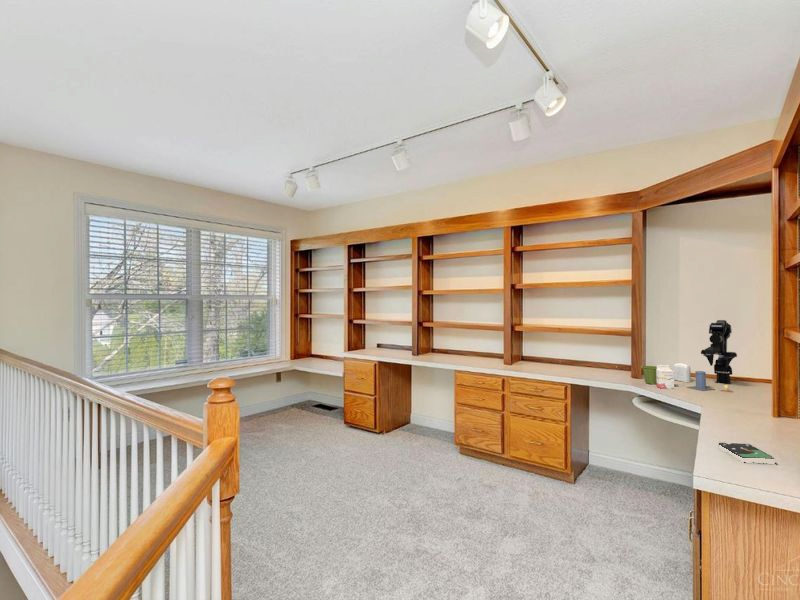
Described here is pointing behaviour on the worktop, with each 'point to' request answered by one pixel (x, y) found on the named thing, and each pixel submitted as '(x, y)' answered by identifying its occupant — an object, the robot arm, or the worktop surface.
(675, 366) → the photo printer
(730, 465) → the worktop surface
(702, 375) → the domed octagonal peg
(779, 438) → the worktop surface
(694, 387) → the rubber mat
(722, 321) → the robot arm
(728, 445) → the disk drive
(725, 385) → the terracotta saucer
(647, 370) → the plant pot
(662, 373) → the ink cartridge box
